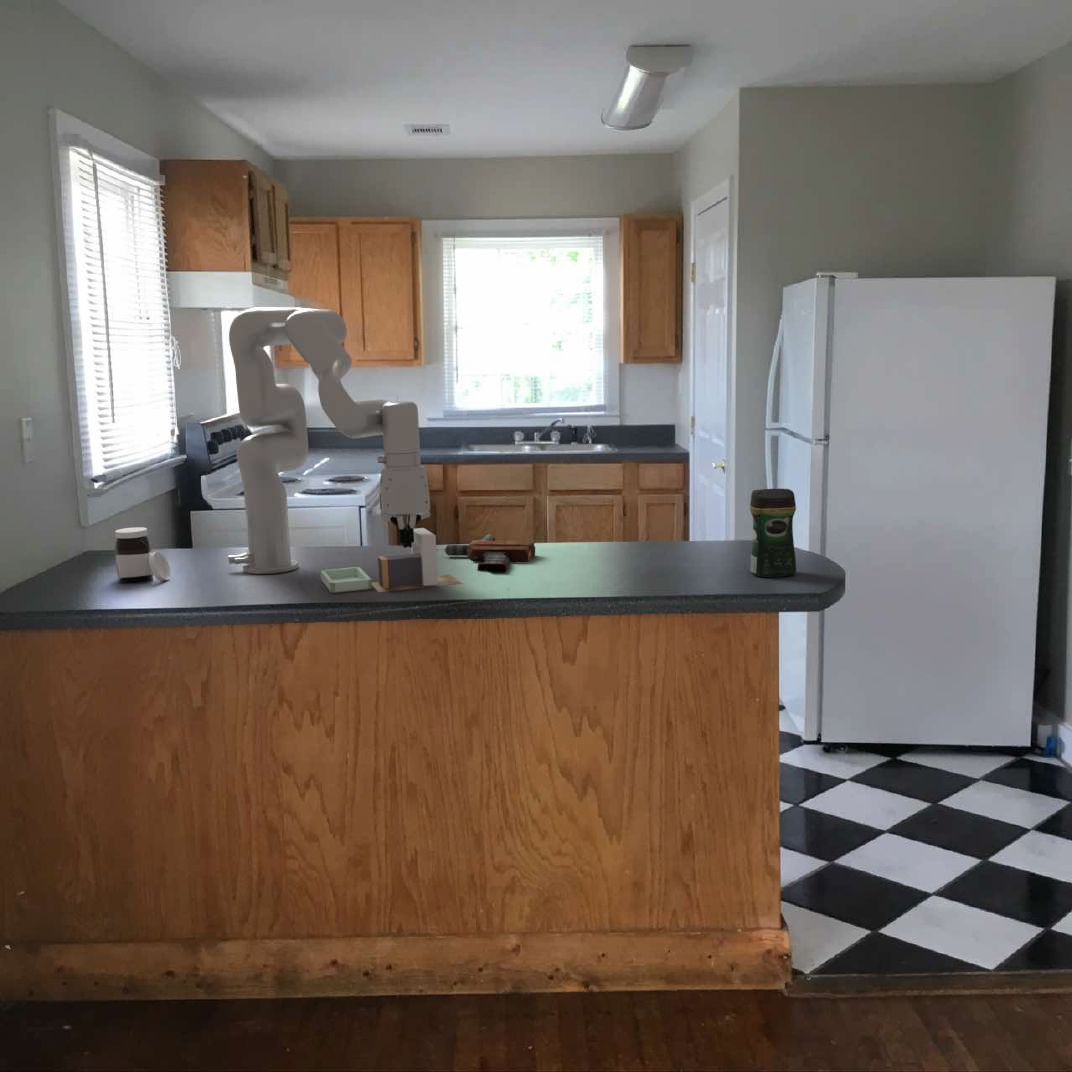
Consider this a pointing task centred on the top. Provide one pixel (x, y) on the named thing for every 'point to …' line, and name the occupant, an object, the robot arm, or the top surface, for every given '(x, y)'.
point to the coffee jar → (772, 533)
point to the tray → (346, 579)
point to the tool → (494, 553)
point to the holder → (442, 581)
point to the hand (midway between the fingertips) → (406, 546)
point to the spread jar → (138, 557)
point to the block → (400, 570)
